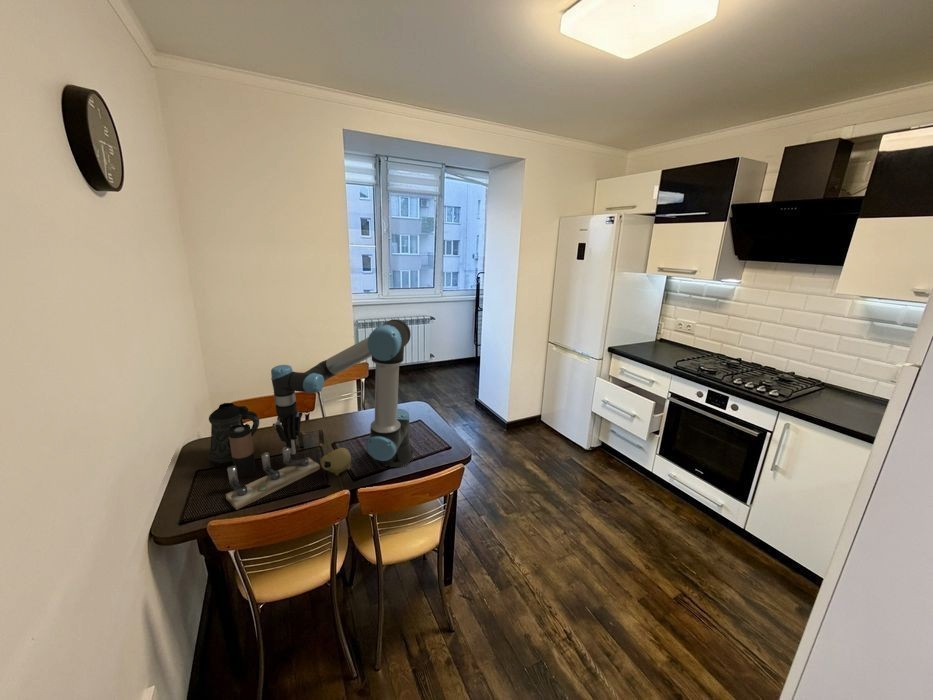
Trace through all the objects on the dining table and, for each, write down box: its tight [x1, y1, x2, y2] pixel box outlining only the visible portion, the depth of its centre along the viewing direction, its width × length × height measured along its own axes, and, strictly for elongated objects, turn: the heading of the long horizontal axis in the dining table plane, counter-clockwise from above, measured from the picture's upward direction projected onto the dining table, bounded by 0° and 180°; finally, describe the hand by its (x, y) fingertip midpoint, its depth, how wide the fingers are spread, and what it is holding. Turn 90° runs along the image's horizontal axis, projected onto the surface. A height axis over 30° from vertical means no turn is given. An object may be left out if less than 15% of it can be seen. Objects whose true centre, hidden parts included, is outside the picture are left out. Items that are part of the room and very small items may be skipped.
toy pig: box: [319, 447, 352, 476], centre depth 150 cm, size 10×12×11 cm
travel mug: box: [228, 423, 257, 478], centre depth 146 cm, size 8×8×20 cm
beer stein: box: [207, 402, 260, 469], centre depth 156 cm, size 16×19×25 cm
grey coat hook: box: [281, 445, 309, 466], centre depth 150 cm, size 10×3×8 cm, turn 94°
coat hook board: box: [225, 456, 321, 511], centre depth 143 cm, size 9×32×3 cm, turn 142°
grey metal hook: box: [260, 451, 280, 480], centre depth 143 cm, size 10×3×8 cm, turn 52°
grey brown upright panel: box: [296, 428, 326, 449], centre depth 168 cm, size 11×3×10 cm, turn 114°
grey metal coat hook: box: [226, 466, 248, 496], centre depth 134 cm, size 10×3×8 cm, turn 52°
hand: (292, 453), depth 153 cm, fingers closed
